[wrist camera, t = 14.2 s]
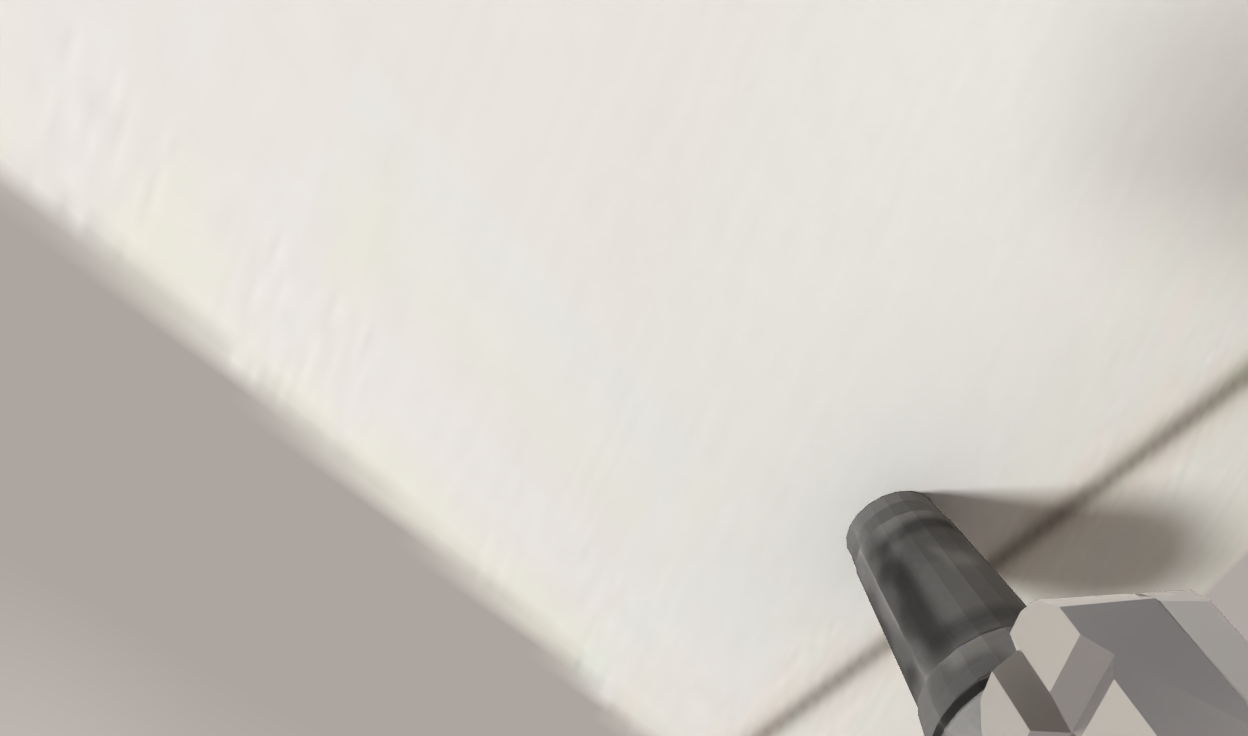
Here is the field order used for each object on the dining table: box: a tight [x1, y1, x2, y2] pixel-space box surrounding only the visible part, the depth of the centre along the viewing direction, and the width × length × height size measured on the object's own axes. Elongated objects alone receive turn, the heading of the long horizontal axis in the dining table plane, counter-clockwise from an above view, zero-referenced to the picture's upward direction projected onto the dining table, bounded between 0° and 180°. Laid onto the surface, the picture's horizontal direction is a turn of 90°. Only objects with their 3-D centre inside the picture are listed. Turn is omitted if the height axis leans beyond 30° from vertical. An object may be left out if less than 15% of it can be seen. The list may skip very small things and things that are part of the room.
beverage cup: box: [846, 491, 1027, 736], centre depth 47 cm, size 7×7×20 cm
